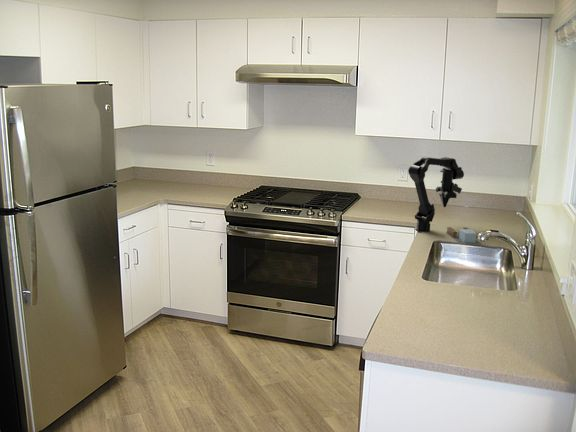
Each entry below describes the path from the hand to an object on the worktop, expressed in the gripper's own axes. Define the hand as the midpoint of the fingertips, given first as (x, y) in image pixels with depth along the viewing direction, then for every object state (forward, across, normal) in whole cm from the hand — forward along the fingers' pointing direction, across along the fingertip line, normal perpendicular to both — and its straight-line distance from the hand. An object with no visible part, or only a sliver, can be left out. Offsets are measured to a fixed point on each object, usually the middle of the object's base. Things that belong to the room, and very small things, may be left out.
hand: (444, 207), depth 340 cm
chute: (+12, -17, -4) cm, 21 cm away
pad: (+12, -28, -4) cm, 31 cm away
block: (+12, -28, -4) cm, 30 cm away
